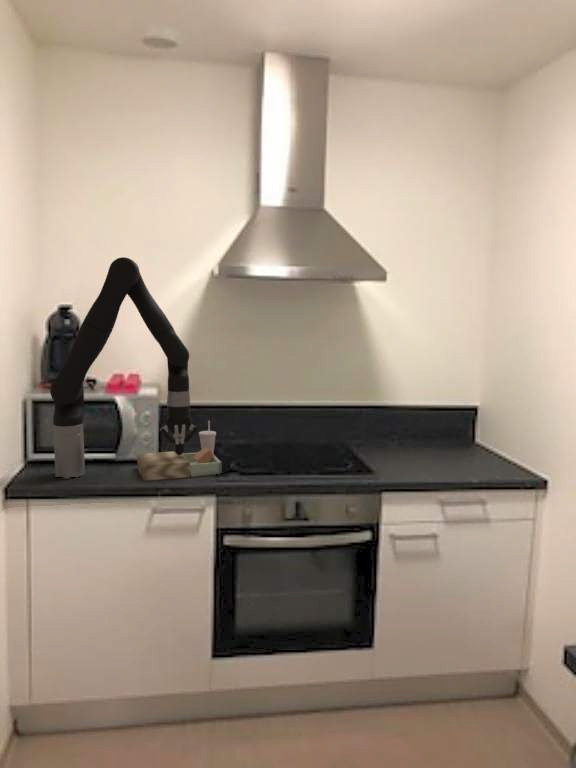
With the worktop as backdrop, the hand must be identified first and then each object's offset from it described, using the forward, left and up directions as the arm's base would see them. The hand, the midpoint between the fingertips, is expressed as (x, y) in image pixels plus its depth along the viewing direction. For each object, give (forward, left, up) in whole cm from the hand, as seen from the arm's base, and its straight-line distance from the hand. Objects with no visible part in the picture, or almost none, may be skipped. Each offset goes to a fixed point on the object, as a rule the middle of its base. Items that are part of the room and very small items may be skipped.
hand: (179, 454), depth 219 cm
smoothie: (+13, +14, -6) cm, 20 cm away
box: (+8, 0, -6) cm, 9 cm away
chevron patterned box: (-5, 0, -6) cm, 8 cm away
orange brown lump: (+8, +2, -1) cm, 8 cm away
